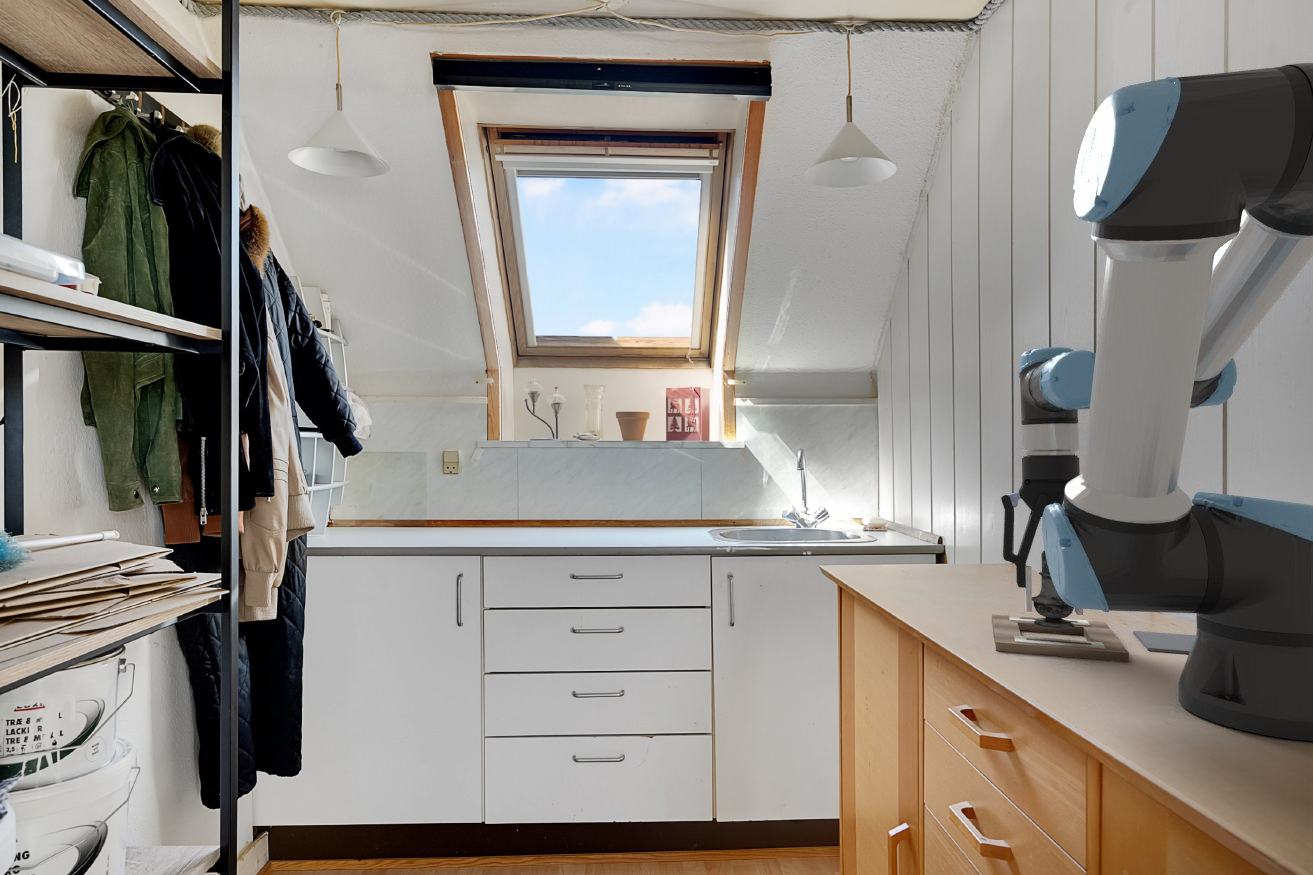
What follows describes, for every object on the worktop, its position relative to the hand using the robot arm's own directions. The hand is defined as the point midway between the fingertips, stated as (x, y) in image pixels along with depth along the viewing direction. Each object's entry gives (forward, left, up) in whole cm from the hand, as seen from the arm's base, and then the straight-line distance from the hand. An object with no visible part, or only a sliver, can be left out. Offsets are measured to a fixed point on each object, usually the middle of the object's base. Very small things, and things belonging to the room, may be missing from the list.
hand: (1053, 611), depth 110 cm
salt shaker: (0, 0, -2) cm, 2 cm away
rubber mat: (+3, -16, -4) cm, 17 cm away
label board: (0, 0, -4) cm, 4 cm away
